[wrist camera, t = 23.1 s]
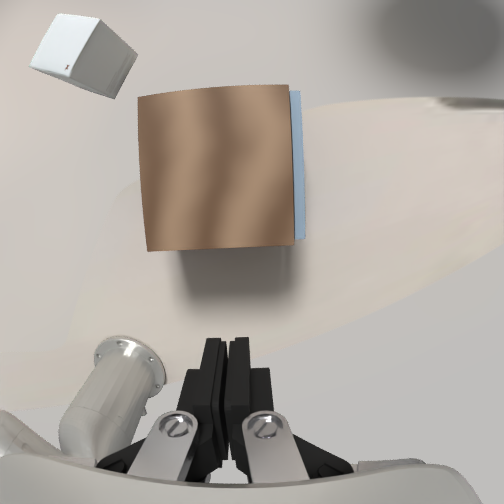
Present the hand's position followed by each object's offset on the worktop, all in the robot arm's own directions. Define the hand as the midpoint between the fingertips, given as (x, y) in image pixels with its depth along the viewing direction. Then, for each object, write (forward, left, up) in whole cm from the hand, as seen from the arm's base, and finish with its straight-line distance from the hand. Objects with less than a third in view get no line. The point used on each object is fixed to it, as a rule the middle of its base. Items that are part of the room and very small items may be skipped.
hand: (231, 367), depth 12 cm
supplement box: (+24, +18, -29) cm, 42 cm away
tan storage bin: (+8, +2, -29) cm, 30 cm away
